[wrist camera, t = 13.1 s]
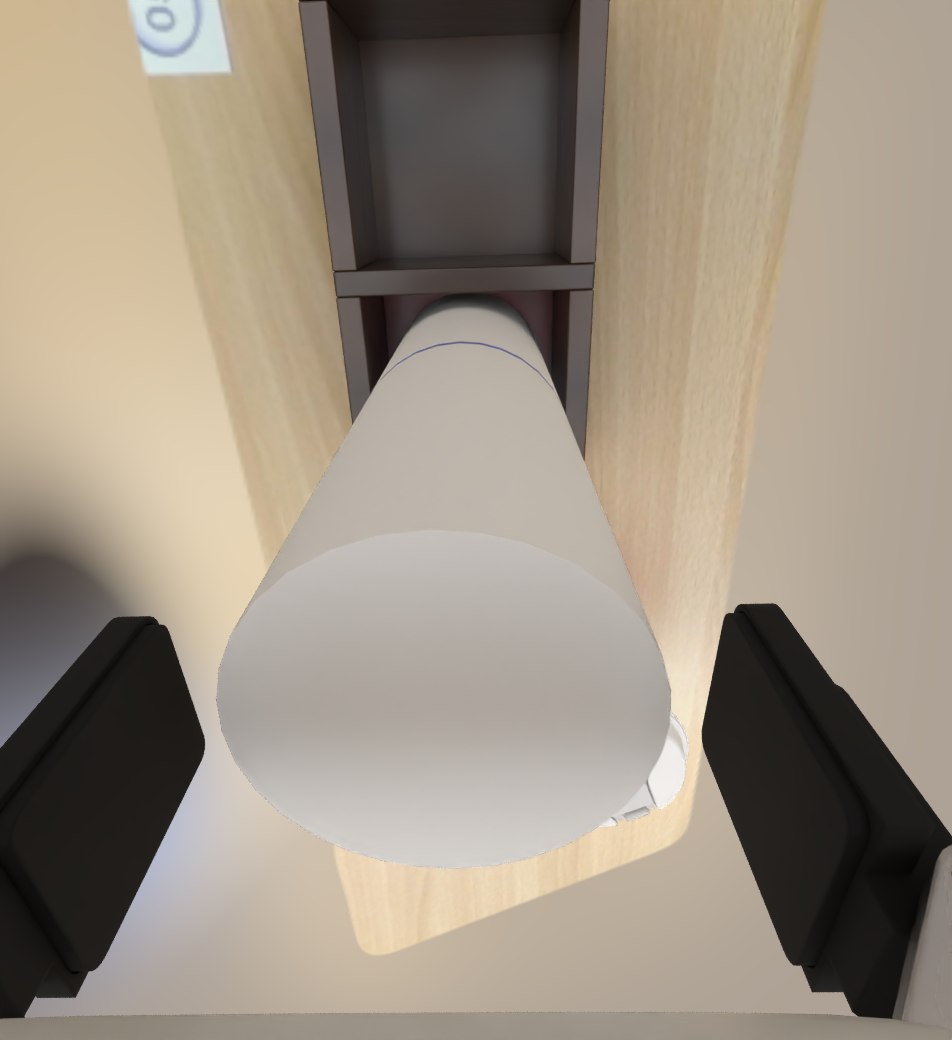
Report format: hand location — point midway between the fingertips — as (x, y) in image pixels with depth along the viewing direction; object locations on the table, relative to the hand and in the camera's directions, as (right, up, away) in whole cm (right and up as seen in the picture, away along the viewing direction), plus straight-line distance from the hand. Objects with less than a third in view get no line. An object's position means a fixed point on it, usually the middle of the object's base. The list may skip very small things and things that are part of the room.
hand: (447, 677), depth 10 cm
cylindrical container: (0, +11, +22) cm, 24 cm away
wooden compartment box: (0, +15, +20) cm, 26 cm away
